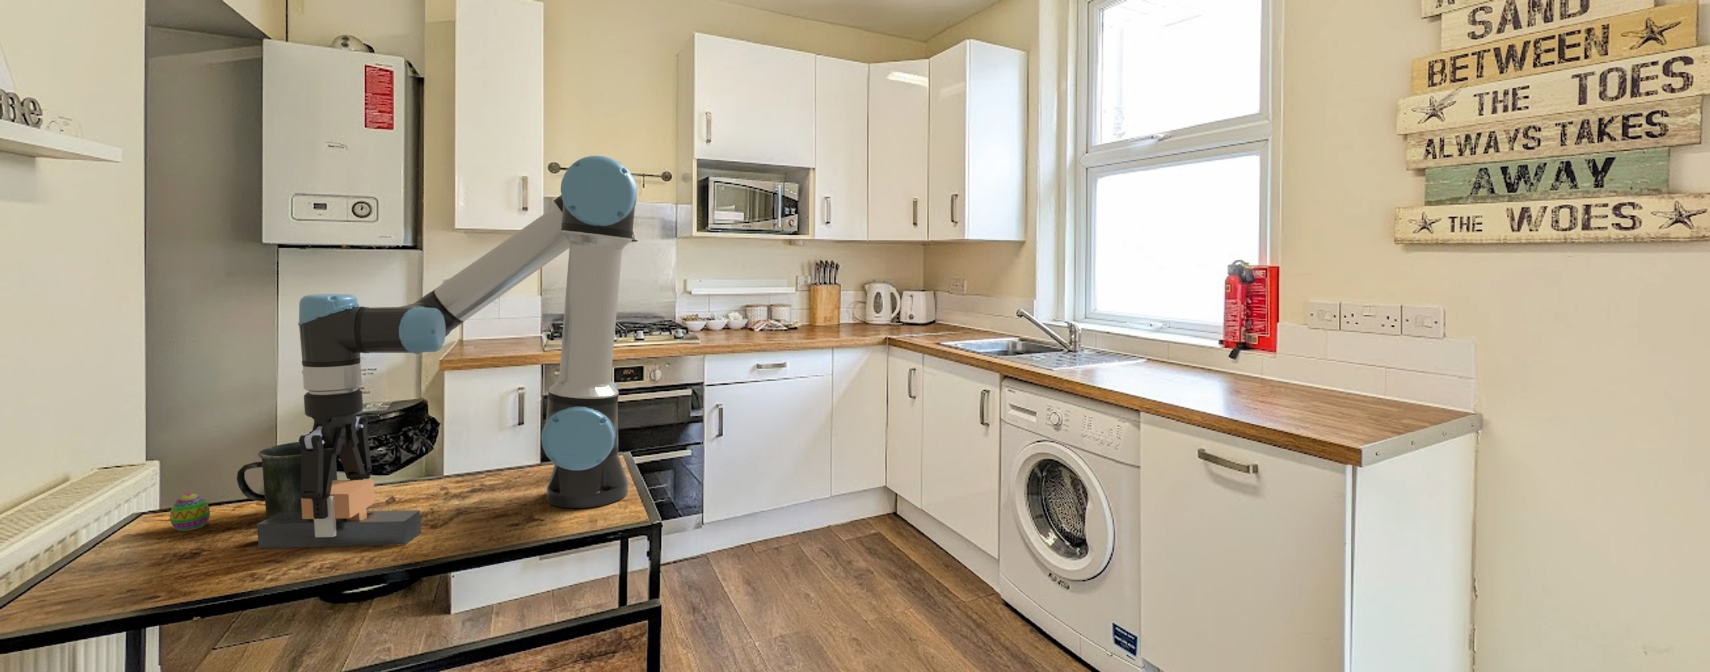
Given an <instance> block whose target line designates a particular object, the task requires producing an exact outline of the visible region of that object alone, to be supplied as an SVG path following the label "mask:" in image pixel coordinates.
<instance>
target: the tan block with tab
mask: <svg viewBox="0 0 1710 672" xmlns="http://www.w3.org/2000/svg"><path fill="white" fill-rule="evenodd" d="M375 492H376V491H375V480H374V479H363V480H350V479H343V480H342V479H341V480H339V479H337V480H333V481H332V487H331V493H330V496H334V501H335V518H346V520H347V521H353V520H364V519H365V518H367V511H368V510H367V508H369V507H371V506H372V505H374V504H376V497H375V496H376V495H375ZM301 505H302V519H313V521H314V516H313V501H312V499H305V498H301Z"/></svg>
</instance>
